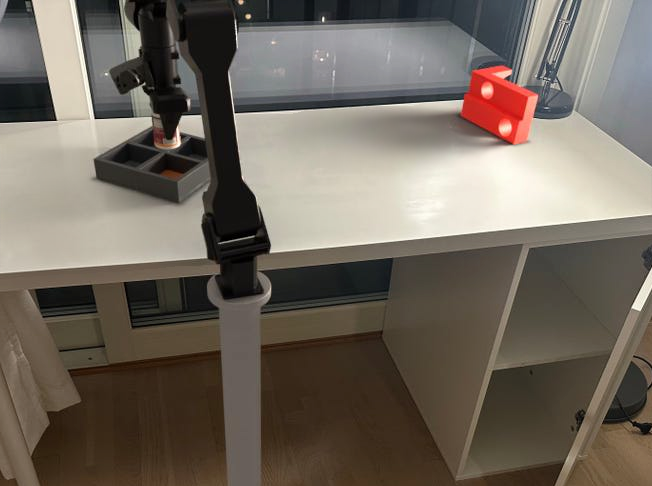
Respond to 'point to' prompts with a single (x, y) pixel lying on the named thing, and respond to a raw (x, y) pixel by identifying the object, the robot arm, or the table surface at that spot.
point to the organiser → (156, 166)
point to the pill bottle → (163, 134)
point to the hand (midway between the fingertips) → (166, 134)
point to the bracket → (499, 104)
